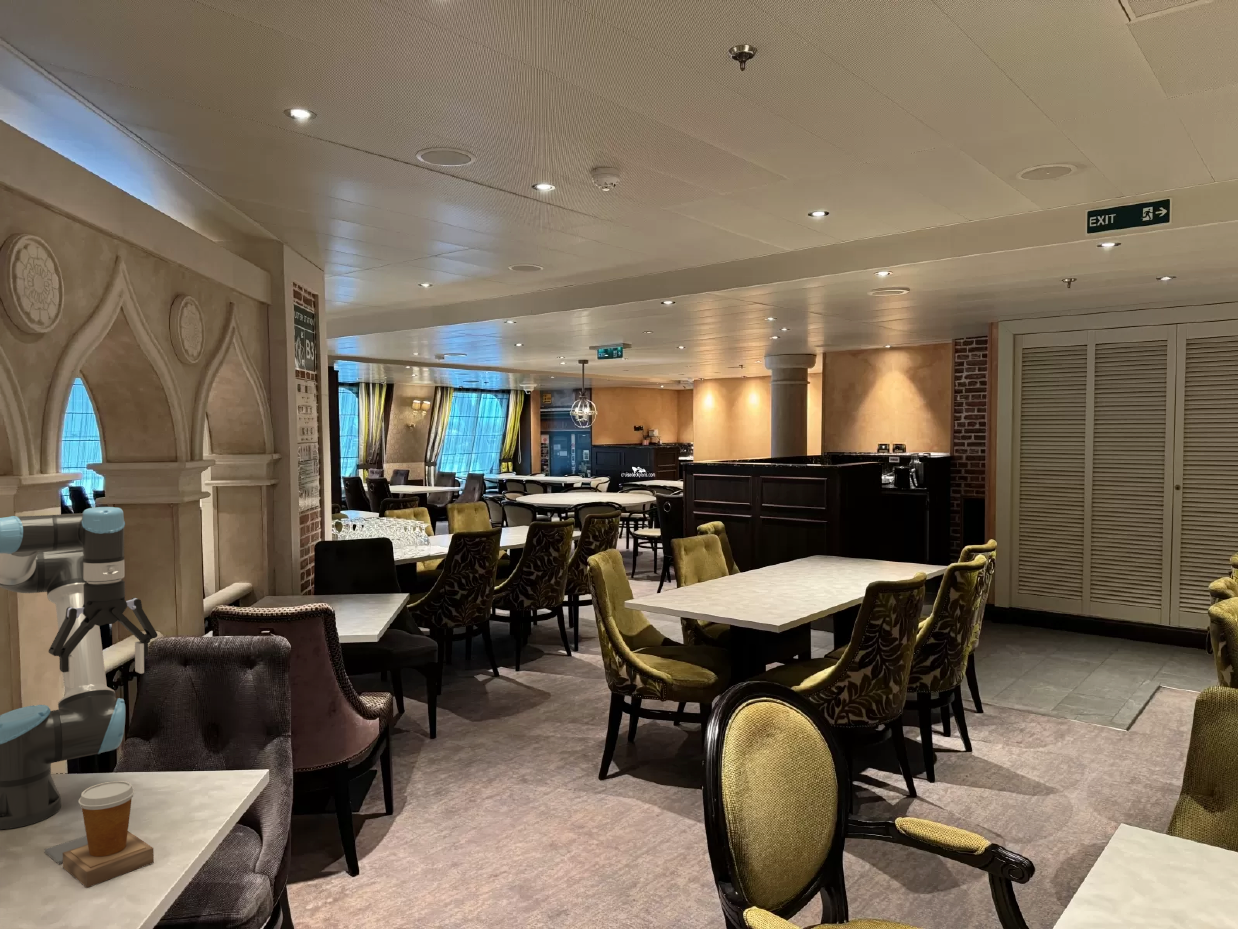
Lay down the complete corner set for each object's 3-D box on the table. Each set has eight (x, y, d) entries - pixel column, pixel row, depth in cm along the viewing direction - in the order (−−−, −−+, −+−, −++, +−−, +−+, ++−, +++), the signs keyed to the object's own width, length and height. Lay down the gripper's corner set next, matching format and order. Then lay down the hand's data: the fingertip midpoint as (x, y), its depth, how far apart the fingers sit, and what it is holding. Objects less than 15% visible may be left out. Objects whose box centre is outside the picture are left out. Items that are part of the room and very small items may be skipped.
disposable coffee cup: (109, 863, 163) (108, 801, 163) (67, 858, 165) (66, 797, 165) (146, 840, 173) (145, 782, 172) (106, 836, 174) (105, 778, 174)
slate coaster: (44, 852, 174) (44, 849, 174) (87, 838, 180) (87, 835, 180) (59, 864, 169) (59, 861, 169) (103, 849, 175) (103, 846, 175)
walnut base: (62, 867, 168) (62, 851, 168) (128, 845, 177) (127, 829, 177) (87, 887, 161) (86, 870, 160) (153, 862, 170) (153, 846, 170)
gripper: (42, 591, 168) (44, 697, 169) (173, 575, 187) (174, 669, 189) (29, 586, 173) (31, 689, 174) (158, 570, 192) (159, 663, 193)
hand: (105, 679), depth 181 cm, fingers open, 13 cm apart
